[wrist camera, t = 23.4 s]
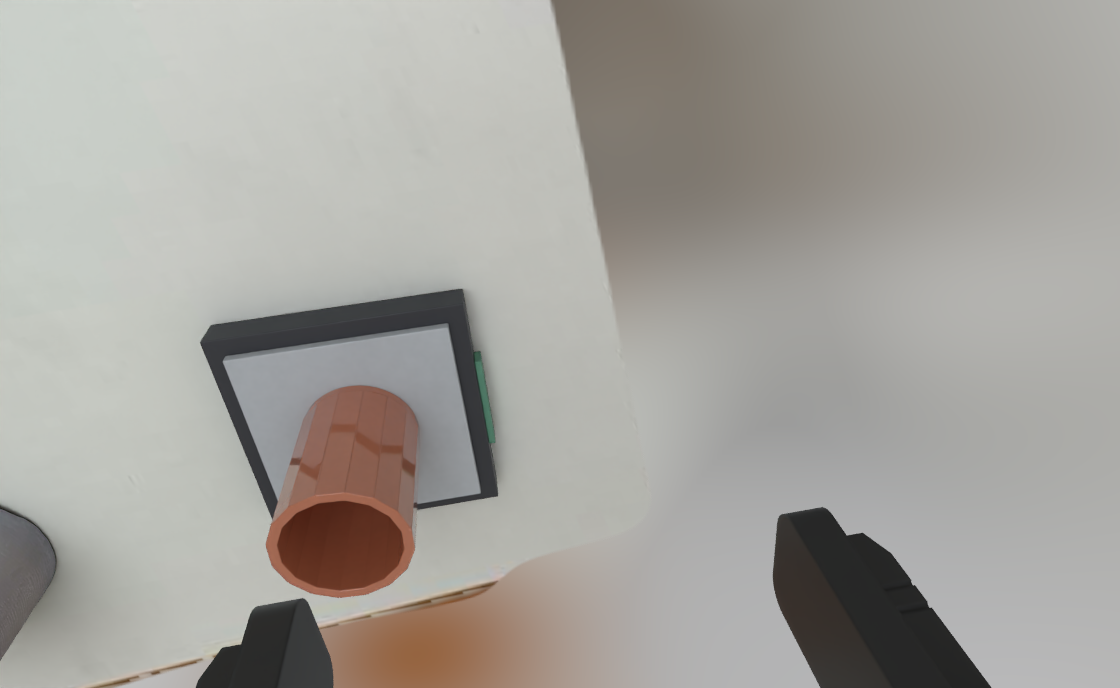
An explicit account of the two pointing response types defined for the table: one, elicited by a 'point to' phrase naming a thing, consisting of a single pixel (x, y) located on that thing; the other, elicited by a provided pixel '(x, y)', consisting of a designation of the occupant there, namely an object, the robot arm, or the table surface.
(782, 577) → the robot arm
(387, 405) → the cup
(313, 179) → the table surface
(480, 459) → the scale
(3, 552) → the pillar candle
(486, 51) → the table surface
